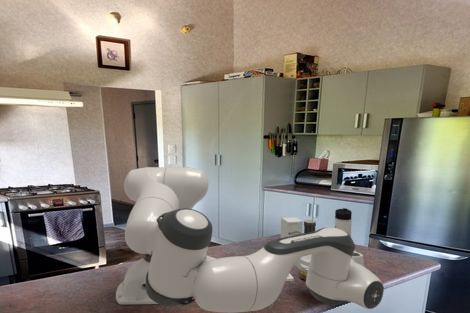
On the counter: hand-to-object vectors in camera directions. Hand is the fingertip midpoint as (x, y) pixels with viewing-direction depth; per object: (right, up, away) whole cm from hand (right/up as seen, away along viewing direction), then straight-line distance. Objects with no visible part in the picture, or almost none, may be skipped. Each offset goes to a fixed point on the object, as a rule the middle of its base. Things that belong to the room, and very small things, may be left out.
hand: (314, 250), depth 100 cm
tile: (-14, -10, +5) cm, 18 cm away
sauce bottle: (-1, -11, +3) cm, 11 cm away
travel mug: (+16, -10, +20) cm, 28 cm away
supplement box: (-2, -9, +32) cm, 33 cm away
